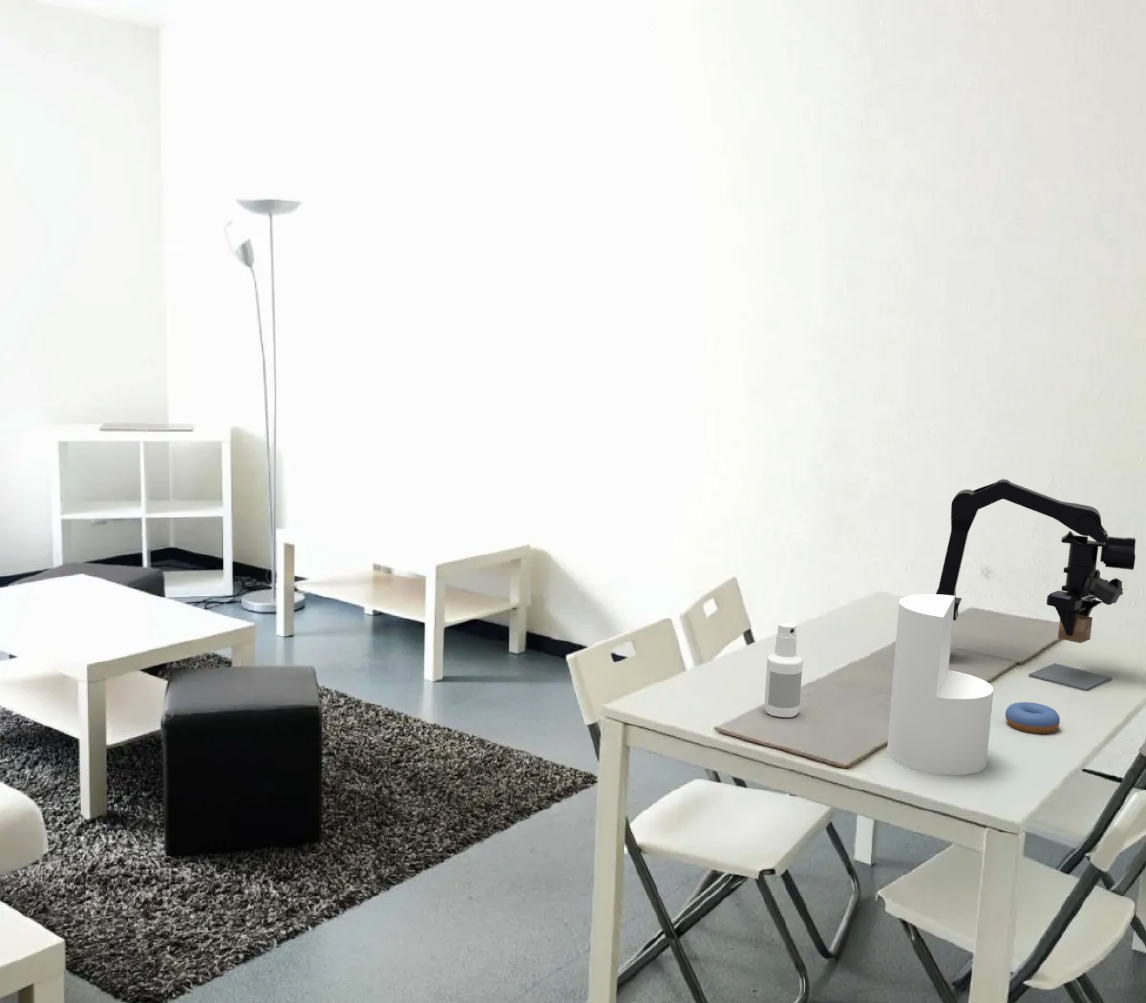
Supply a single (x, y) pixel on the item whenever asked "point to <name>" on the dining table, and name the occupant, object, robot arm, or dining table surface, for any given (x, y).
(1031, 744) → the dining table surface
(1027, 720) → the doughnut
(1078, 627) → the walnut cube
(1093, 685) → the charcoal mat
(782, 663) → the spray bottle
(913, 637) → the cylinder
